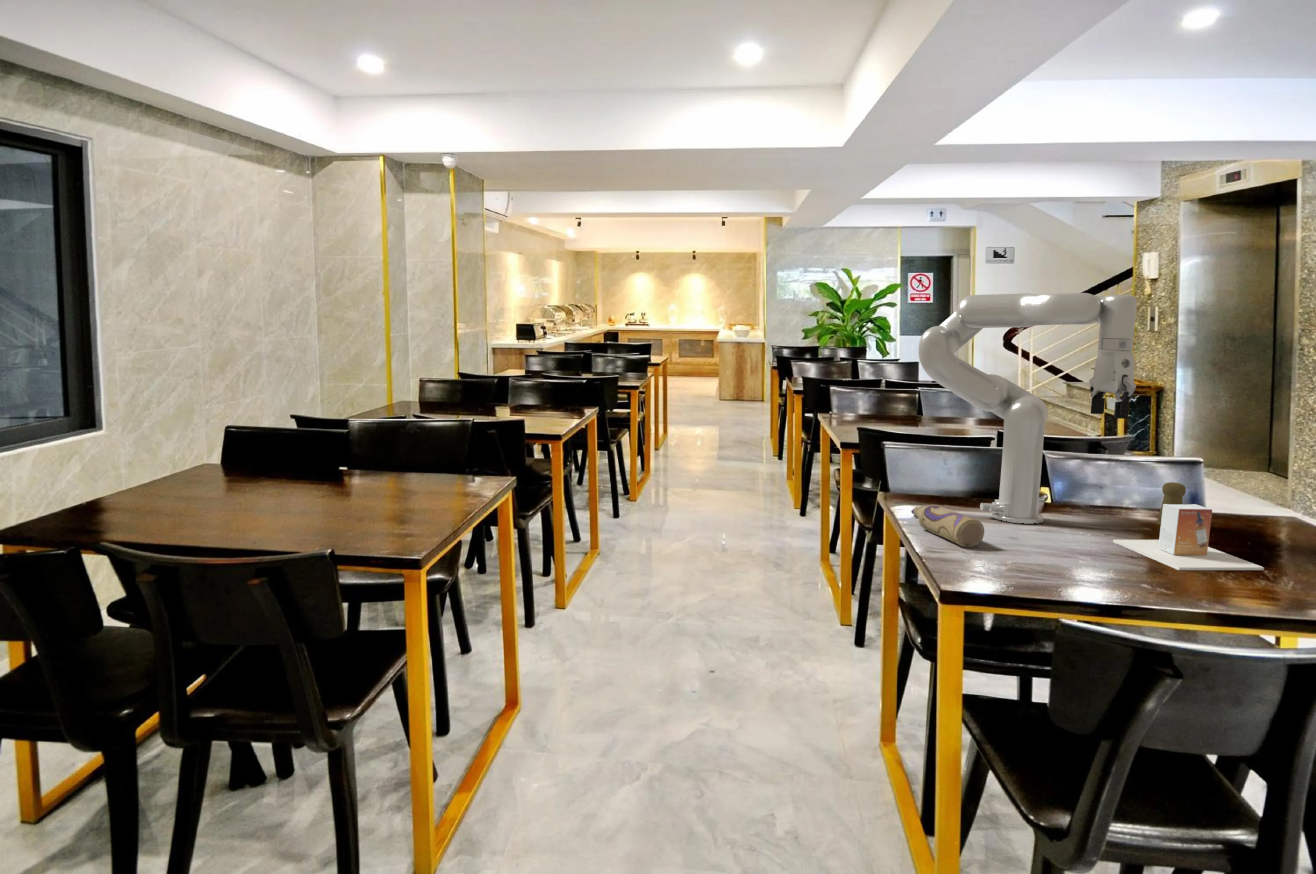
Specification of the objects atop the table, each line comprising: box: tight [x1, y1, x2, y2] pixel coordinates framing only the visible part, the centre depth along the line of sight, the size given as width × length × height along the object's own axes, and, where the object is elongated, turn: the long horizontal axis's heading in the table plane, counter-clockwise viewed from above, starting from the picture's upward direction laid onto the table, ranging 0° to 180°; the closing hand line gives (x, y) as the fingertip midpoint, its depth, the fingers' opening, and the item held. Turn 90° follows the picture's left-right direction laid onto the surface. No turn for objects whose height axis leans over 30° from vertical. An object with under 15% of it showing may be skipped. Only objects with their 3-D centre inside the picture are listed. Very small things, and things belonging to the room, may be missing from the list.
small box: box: [1158, 503, 1213, 556], centre depth 196 cm, size 8×6×10 cm
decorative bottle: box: [911, 504, 985, 549], centre depth 211 cm, size 26×8×7 cm, turn 12°
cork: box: [1156, 481, 1187, 524], centre depth 226 cm, size 6×6×11 cm
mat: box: [1112, 539, 1265, 571], centre depth 196 cm, size 19×23×1 cm
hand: (1108, 416), depth 217 cm, fingers open, 9 cm apart
